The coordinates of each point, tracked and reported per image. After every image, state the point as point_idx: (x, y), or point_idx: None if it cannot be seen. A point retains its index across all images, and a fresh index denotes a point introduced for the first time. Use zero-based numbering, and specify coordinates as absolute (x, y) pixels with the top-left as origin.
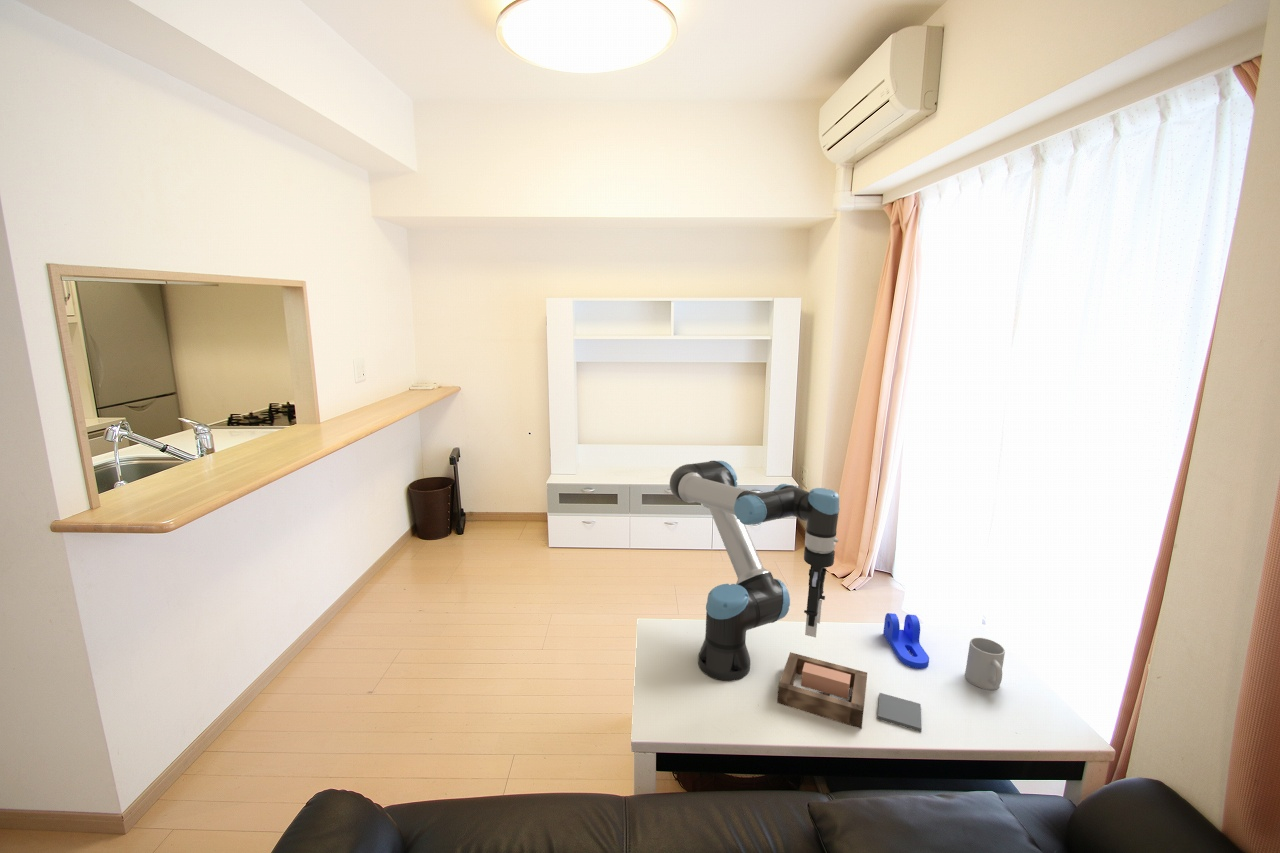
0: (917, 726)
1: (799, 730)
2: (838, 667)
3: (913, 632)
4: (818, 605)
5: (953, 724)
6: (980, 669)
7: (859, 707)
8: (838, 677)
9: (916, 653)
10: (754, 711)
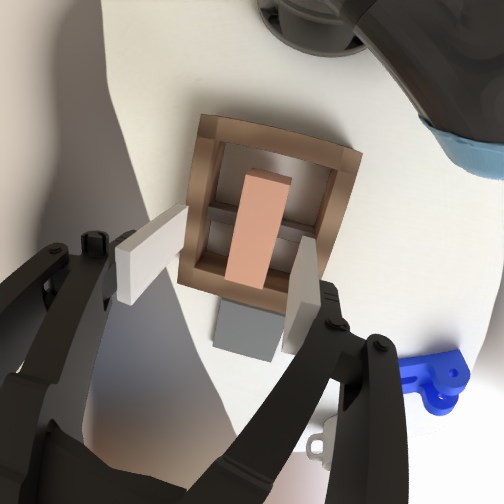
0: (214, 343)
1: (152, 160)
2: None
3: (426, 397)
4: (288, 320)
5: (244, 379)
6: (328, 439)
7: (184, 278)
8: (243, 261)
9: None
10: (178, 75)
